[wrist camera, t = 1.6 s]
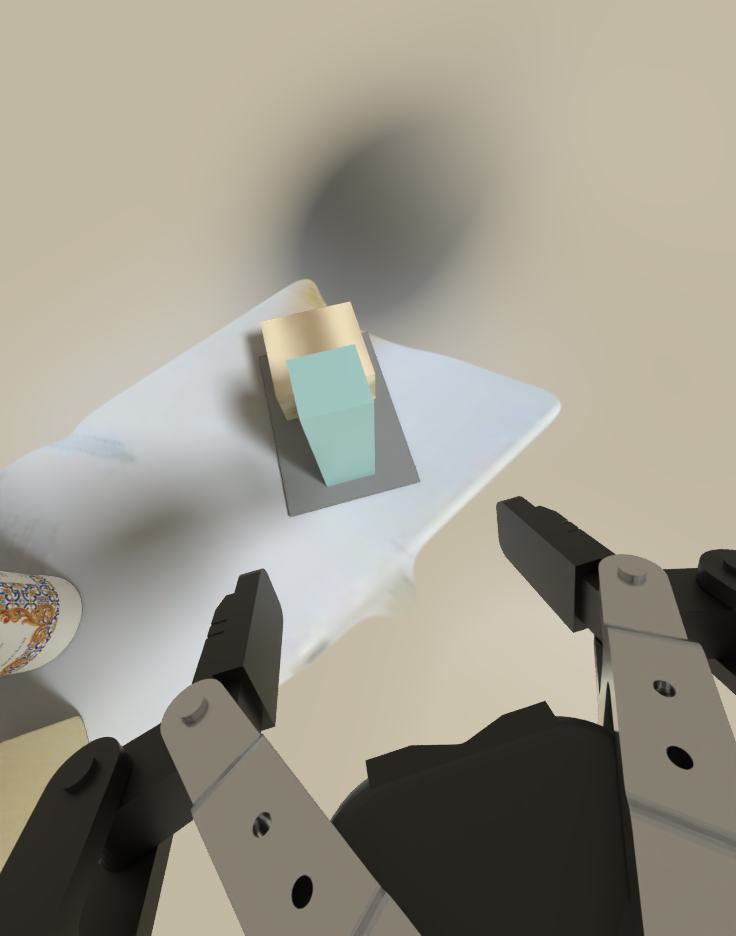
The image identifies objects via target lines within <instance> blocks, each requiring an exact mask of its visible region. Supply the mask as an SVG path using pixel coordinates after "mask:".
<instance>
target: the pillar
mask: <svg viewBox="0 0 736 936" xmlns="http://www.w3.org/2000/svg"><path fill="white" fill-rule="evenodd" d="M286 363H287V367H288V372H289V376H290V380H291V385H292V389H293V393H294V398H295V402H296V406H297V411H298V415H299V419H300V422H301V425H302V427H303V430H304V432H305V434H306V437H307V439H308V442H309V444H310V447H311V449H312V451H313V454H314V456H315V459H316V461H317V464H318V466H319V468H320V471H321V473H322V476H323V478H324V481H325V483H326V485H327V487H328V486H332V485H336V484H340V483H343V482H347V481H351V480H355V479H358V478H362V477H366V476H370V475H373V474H375V434H374V400H373V397H372V394H371V391H370V388H369V385H368V382H367V379H366V376H365V373H364V370H363V367H362V364H361V361H360V358H359V355H358V352H357V349H356V346H355V344H352V345H348V346H344V347H340V348H335V349H331V350H327V351H323V352H318V353H314V354H310V355H306V356H301V357H297V358H293V359H289V360H286Z"/></svg>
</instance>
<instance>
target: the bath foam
mask: <svg viewBox="0 0 736 936" xmlns="http://www.w3.org/2000/svg"><path fill="white" fill-rule="evenodd" d="M81 615H82V602H81V598H80V595H79V593H78V591H77V589H76V588H75V587H74V586H73V585H72V584H71V583H69V582H68V581H66V580H65V579H62V578H59V577H54V576H44V575H35V574H26V573H16V572H5V571H0V677H1V676H5V675H10V674H16V673H21V672H26V671H30V670H34V669H36V668H39V667H41V666H43V665H45V664H47V663H48V662H50V661H51V660H53V659H54V658H56V657H57V656H58V655H59V654H60V653H61V652H62V651H63V650H64V649H65V648H66V647H67V646H68V644H69V643H70V642H71V640H72V638H73V637H74V635H75V633H76V631H77V629H78V626H79V624H80V620H81Z"/></svg>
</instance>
